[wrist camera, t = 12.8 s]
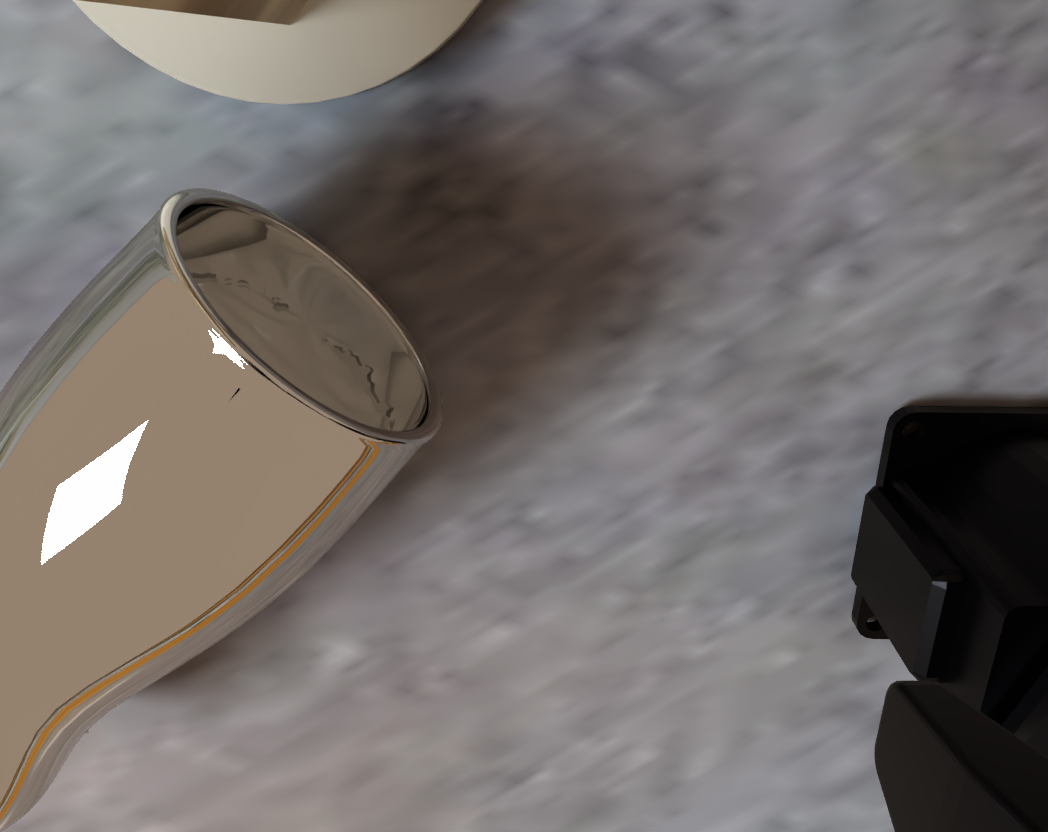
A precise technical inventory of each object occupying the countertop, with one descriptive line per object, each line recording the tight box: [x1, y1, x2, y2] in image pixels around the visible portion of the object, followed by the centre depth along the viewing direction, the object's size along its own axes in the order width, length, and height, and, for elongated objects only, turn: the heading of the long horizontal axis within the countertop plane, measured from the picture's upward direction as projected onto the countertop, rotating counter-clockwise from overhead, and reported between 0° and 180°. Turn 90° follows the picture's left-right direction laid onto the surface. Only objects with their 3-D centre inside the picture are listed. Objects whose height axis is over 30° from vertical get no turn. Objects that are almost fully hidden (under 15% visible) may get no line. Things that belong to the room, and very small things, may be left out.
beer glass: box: [0, 188, 443, 832], centre depth 19 cm, size 7×7×15 cm
